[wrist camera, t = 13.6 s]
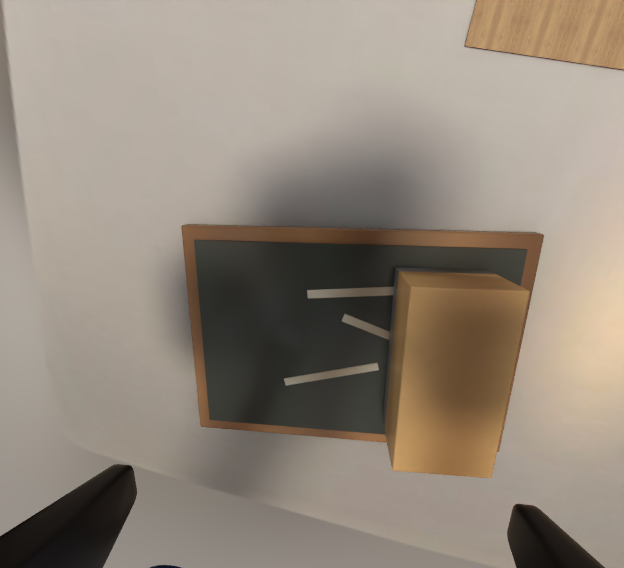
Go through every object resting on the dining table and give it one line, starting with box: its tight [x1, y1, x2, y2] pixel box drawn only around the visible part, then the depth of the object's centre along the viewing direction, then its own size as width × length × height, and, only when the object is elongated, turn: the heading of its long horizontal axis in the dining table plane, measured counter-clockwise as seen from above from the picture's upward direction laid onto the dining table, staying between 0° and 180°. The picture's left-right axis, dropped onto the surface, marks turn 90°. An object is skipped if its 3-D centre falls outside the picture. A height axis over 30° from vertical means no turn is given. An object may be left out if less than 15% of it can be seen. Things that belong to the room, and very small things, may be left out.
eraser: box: [383, 267, 530, 478], centre depth 17 cm, size 5×10×4 cm, turn 179°
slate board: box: [182, 224, 544, 452], centre depth 20 cm, size 20×14×1 cm
